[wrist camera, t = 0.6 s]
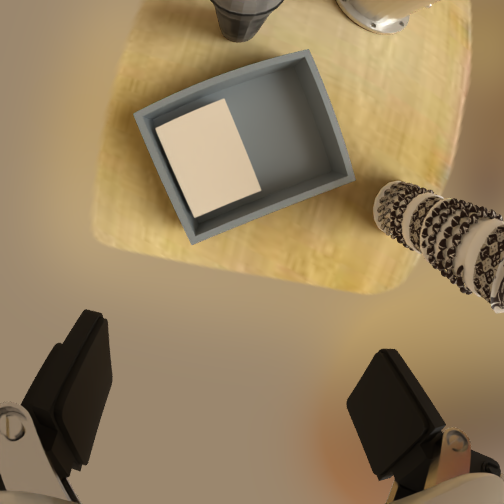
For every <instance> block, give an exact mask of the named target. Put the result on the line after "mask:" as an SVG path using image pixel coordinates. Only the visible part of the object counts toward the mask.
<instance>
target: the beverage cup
mask: <svg viewBox="0 0 504 504" xmlns="http://www.w3.org/2000/svg"><path fill="white" fill-rule="evenodd" d="M283 1H284V0H211V2H212V3H213V4H214V6H215V9H216V13H217V17H218V22H219V26H220V28H221V31H222V34H223V35H224V36H225V37H226V38H227V39H228V40H230V41H233V42H245V41H248V40H250V39H251V38H252V37H253V36H254V35H255V34H256V33H257V32H258V30H259V29H260V27H261V26H262V24H263V23H264V21H265V20H266V19H267V17H268V16H269V14H270V13H271V12H272V11H274V10H275V9H277V8H278V7H279V5H280V4H281V3H282V2H283Z"/></svg>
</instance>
